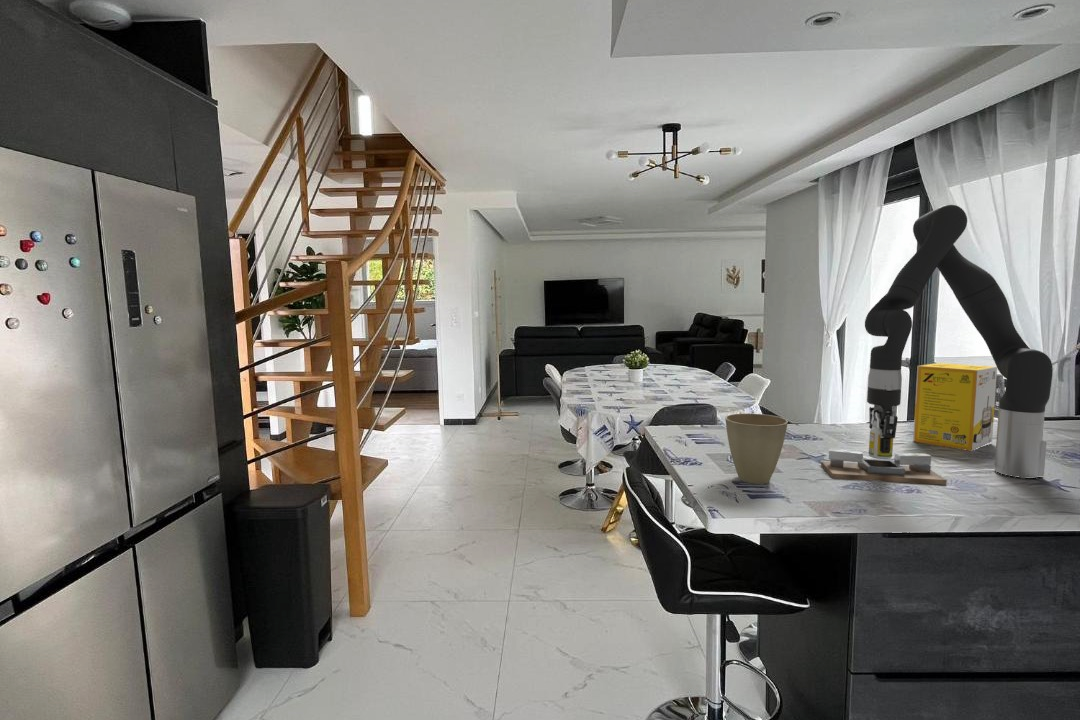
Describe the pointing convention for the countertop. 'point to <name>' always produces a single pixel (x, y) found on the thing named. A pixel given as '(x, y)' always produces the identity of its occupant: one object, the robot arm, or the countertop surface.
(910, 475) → the walnut base board
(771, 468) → the plant pot
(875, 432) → the supplement bottle
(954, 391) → the packaging box
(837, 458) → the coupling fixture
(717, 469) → the countertop surface
